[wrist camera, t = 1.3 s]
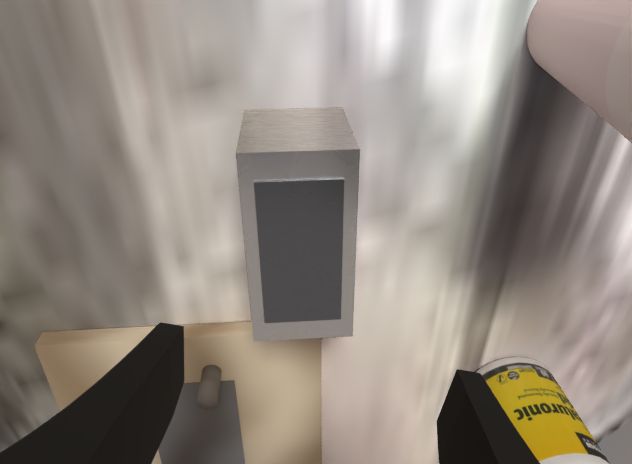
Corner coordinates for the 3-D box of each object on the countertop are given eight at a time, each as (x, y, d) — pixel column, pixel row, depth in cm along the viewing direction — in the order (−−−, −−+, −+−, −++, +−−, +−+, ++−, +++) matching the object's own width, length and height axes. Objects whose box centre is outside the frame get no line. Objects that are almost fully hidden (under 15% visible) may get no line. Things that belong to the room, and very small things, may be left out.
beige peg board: (108, 506, 32) (93, 555, 30) (42, 332, 25) (15, 376, 22) (320, 491, 33) (324, 537, 31) (319, 317, 26) (324, 359, 23)
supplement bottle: (567, 362, 29) (690, 537, 20) (519, 423, 31) (610, 602, 23) (487, 344, 27) (581, 521, 19) (443, 409, 30) (509, 591, 21)
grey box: (257, 270, 24) (253, 343, 20) (244, 108, 20) (235, 154, 16) (338, 267, 24) (352, 338, 20) (341, 106, 20) (360, 150, 16)
